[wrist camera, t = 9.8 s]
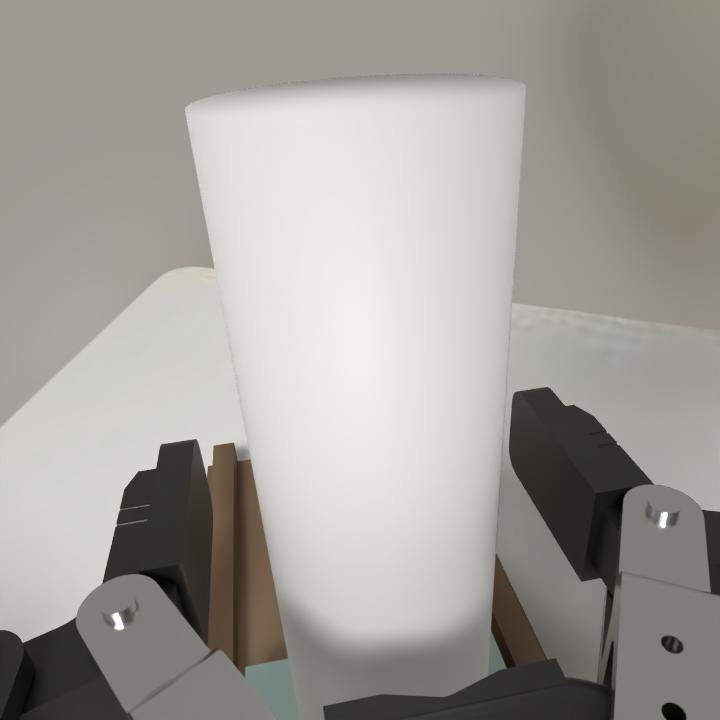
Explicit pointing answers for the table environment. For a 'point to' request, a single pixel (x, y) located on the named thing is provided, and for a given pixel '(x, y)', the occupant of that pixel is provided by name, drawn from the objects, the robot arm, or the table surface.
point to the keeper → (370, 364)
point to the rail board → (257, 591)
